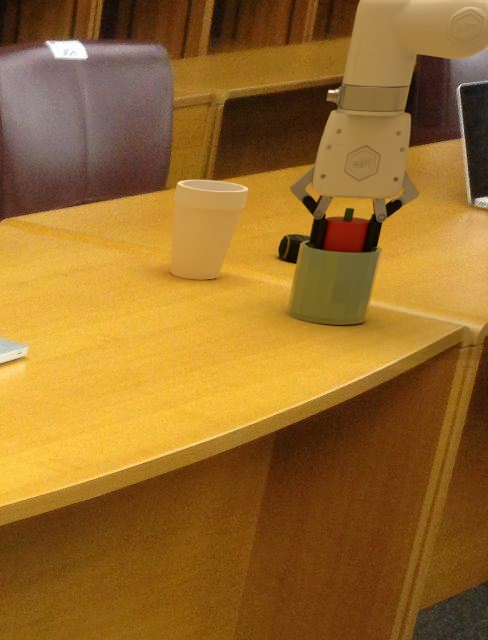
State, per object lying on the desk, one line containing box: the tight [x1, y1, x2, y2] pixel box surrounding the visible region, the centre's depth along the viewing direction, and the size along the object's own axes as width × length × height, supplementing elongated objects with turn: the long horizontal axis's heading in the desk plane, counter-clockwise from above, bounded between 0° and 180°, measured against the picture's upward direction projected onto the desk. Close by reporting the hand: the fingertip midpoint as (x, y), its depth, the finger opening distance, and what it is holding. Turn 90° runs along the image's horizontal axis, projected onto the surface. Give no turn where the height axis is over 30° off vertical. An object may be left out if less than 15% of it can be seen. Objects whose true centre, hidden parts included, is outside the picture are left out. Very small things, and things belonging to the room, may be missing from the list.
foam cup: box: [169, 179, 249, 280], centre depth 217 cm, size 10×9×13 cm
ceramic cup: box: [286, 240, 383, 326], centre depth 197 cm, size 9×9×9 cm
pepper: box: [321, 207, 370, 253], centre depth 195 cm, size 5×5×6 cm
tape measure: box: [277, 233, 310, 263], centre depth 229 cm, size 7×7×4 cm
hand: (341, 249), depth 196 cm, fingers closed on pepper, 5 cm apart
